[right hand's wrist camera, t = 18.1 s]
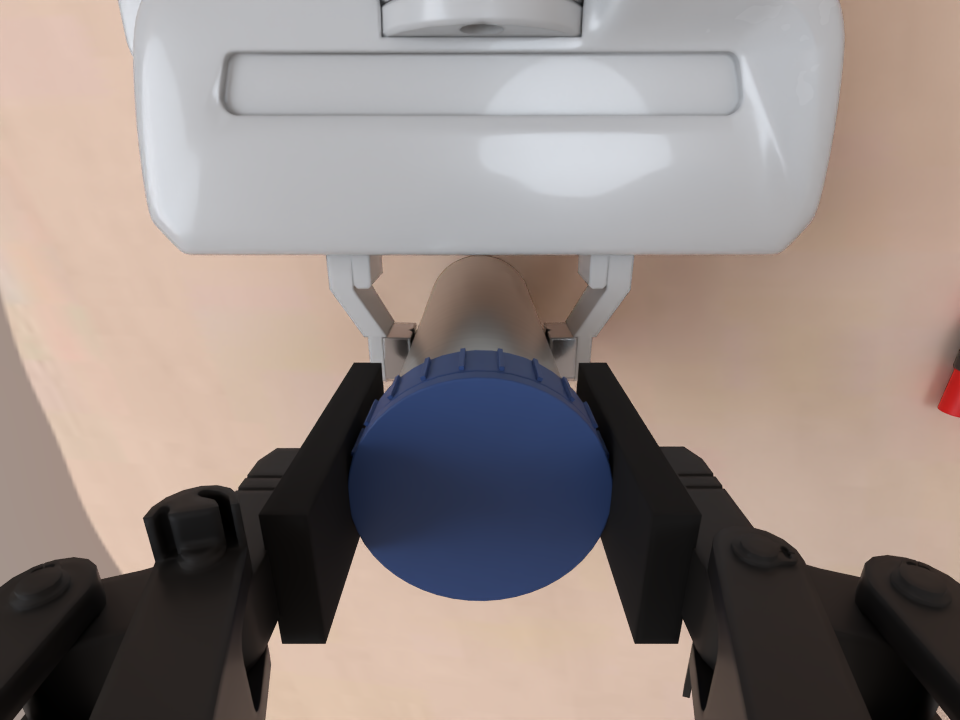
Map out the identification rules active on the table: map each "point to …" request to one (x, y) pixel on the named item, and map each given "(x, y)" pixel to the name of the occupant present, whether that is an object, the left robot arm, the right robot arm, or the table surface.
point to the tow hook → (952, 392)
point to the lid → (480, 477)
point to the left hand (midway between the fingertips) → (481, 376)
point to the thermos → (480, 314)
